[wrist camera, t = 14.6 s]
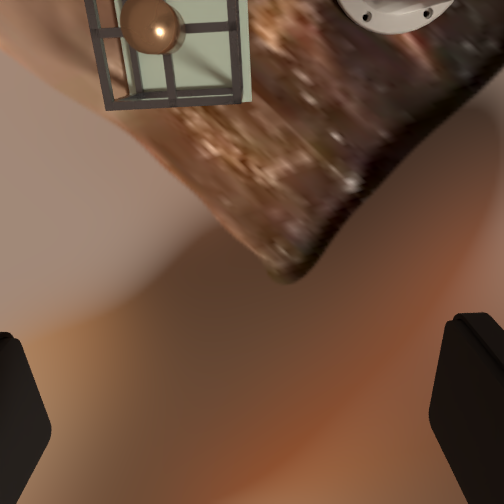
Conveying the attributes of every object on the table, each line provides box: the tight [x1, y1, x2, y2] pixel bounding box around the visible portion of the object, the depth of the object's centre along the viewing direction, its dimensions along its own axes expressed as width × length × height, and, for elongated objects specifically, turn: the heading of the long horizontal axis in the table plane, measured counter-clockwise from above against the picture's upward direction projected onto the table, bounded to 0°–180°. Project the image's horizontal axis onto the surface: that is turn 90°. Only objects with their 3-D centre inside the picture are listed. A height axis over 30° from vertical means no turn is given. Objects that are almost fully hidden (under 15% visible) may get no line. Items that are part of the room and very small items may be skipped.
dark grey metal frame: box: [84, 0, 244, 111], centre depth 31 cm, size 10×10×15 cm
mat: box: [114, 0, 252, 102], centre depth 38 cm, size 12×12×1 cm
